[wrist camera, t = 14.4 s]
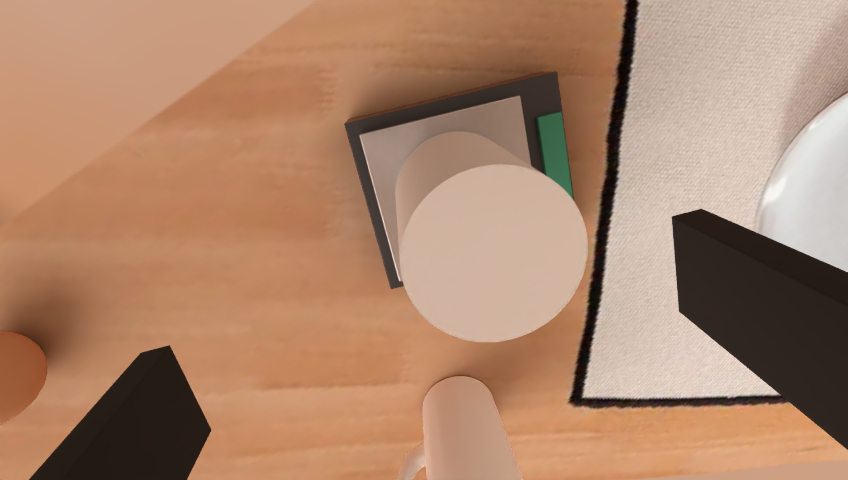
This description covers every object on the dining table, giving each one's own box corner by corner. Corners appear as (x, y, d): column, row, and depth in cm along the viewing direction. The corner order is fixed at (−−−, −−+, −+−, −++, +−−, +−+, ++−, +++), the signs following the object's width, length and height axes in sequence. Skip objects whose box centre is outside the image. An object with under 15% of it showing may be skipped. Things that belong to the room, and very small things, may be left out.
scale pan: (359, 133, 31) (359, 134, 31) (517, 94, 31) (520, 95, 30) (399, 277, 35) (399, 282, 34) (540, 242, 35) (544, 246, 34)
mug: (473, 358, 41) (506, 467, 30) (509, 414, 43) (553, 535, 32) (372, 414, 42) (366, 539, 31) (411, 465, 44) (420, 600, 33)
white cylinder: (454, 274, 34) (488, 374, 23) (369, 194, 32) (359, 261, 20) (542, 192, 33) (624, 256, 21) (459, 103, 30) (502, 121, 19)
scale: (347, 119, 34) (343, 124, 31) (542, 71, 34) (559, 71, 31) (390, 273, 38) (391, 292, 35) (565, 230, 38) (582, 245, 35)
